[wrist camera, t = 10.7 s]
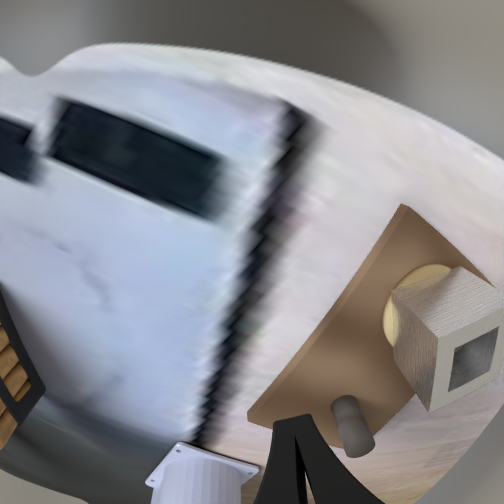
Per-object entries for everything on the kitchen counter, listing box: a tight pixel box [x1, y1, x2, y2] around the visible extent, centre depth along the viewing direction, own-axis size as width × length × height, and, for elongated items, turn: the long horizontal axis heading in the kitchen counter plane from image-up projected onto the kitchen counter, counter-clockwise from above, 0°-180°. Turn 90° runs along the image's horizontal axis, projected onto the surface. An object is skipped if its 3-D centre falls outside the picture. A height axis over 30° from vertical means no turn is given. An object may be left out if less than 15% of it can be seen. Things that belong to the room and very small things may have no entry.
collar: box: [391, 266, 504, 413], centre depth 16 cm, size 5×5×6 cm
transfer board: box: [247, 204, 495, 458], centre depth 18 cm, size 18×11×6 cm, turn 149°
